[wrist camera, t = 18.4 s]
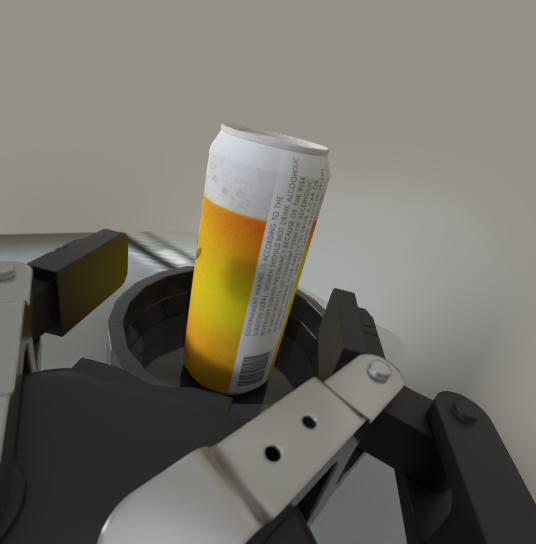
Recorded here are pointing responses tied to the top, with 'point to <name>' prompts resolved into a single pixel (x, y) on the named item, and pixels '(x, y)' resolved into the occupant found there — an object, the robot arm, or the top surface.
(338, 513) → the top surface
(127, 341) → the dark grey bowl
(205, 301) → the beer can
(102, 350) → the top surface
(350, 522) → the top surface
